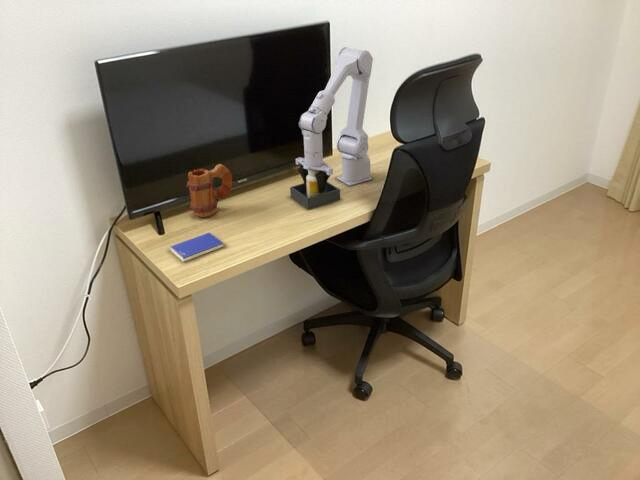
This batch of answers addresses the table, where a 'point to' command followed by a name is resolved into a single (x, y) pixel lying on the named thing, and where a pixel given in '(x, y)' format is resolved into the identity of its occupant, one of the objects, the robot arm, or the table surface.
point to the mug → (207, 189)
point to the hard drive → (196, 246)
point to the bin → (301, 196)
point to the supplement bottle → (312, 183)
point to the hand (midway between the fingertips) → (314, 189)
